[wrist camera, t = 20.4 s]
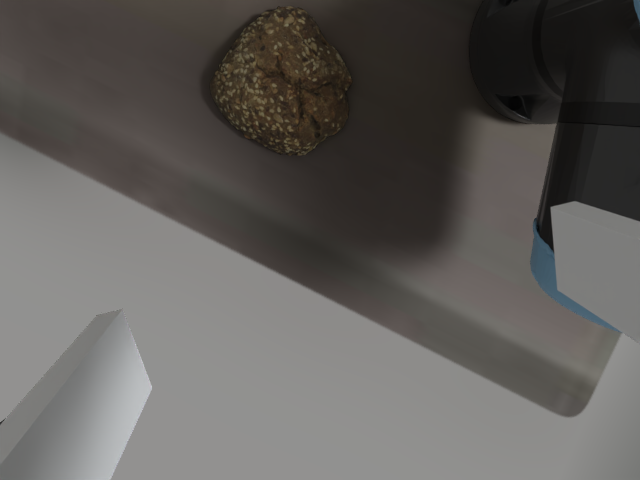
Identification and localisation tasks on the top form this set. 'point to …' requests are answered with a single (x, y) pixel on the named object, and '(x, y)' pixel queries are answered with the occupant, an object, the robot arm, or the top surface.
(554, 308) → the top surface
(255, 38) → the bread roll
